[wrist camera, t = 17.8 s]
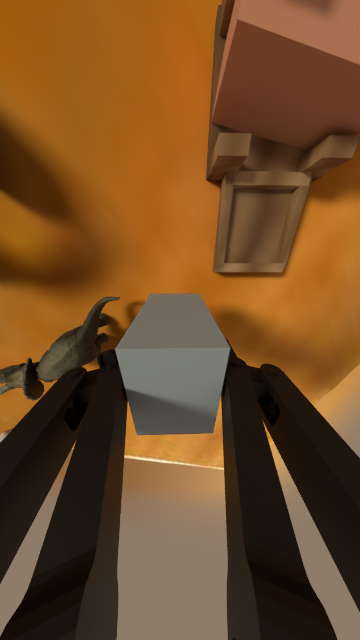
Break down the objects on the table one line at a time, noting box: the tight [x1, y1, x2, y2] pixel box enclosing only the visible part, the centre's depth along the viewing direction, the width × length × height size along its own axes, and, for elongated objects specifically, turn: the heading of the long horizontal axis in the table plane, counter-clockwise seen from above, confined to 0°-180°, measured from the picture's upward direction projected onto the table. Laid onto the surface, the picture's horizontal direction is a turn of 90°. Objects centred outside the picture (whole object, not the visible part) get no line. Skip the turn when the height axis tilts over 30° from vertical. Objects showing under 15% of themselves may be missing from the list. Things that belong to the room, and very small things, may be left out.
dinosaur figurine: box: [0, 297, 120, 401], centre depth 21 cm, size 22×8×11 cm, turn 120°
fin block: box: [115, 294, 230, 435], centre depth 11 cm, size 5×7×9 cm
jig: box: [206, 0, 360, 272], centre depth 15 cm, size 14×22×4 cm, turn 0°
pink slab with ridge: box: [211, 0, 360, 151], centre depth 10 cm, size 14×5×9 cm, turn 80°
